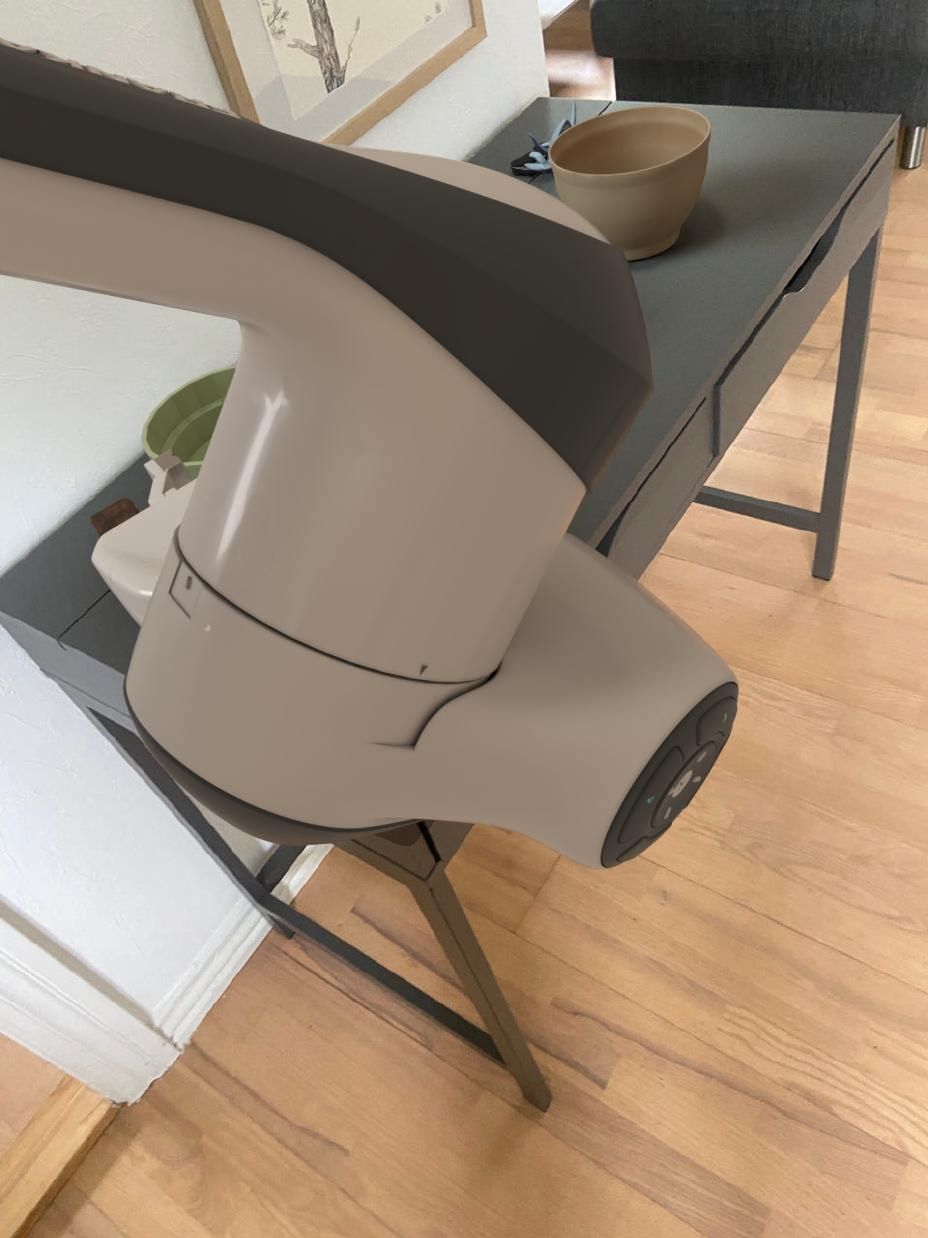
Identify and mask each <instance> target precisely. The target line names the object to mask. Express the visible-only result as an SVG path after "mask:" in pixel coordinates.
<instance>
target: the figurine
mask: <svg viewBox="0 0 928 1238" xmlns="http://www.w3.org/2000/svg"><path fill="white" fill-rule="evenodd" d="M571 104H572V105H571V113H570V120H569V119H566V118H563V119H562V120H561V122H559V123H558V124H557V126H556V128H555V130H554V131H553V134H552V135H551V138H550V140H549V141H546V142H545V141H544V142H539V141H538V139H537V138H536V137H535V136H534V135H533V134H532V133H530V132H529V133H528V135H529V137H530V139H531V140H532V142H533V145H534V146H533V147H532V149H533V150H534V152H533V151H531V150H530V151H531V152H529V151H528V152H526V153H525V154H523V155H522V156H520V157H518V158H515V159H514V160H512V161H510V165H511V166H512V167H525V168H526V167H527V168H529V169H530V170H522V169H515V168H512V167H511V166H510V170H511V172H512V174H513V175H516V176H521V175H529V176H530V175H534V174H536V173H542V174H552V173H553V172H552V171H553V170H552V168H551V166H550V162H549V155H548V153H549V148H550V146H551V144H552V143H553V141H554V140H555V139H556V138H557V137H558V136H559V135H561V134H562V133H563V132H564V131H566V130H567V129H569V128H570V127H572V126H574V125H576V124H577V103H576V100H575V99H573V100H572V103H571ZM535 151H536V152H535ZM543 155H546V156H545V157H543ZM535 162H538V163H535ZM551 172H552V173H551Z"/></svg>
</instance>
